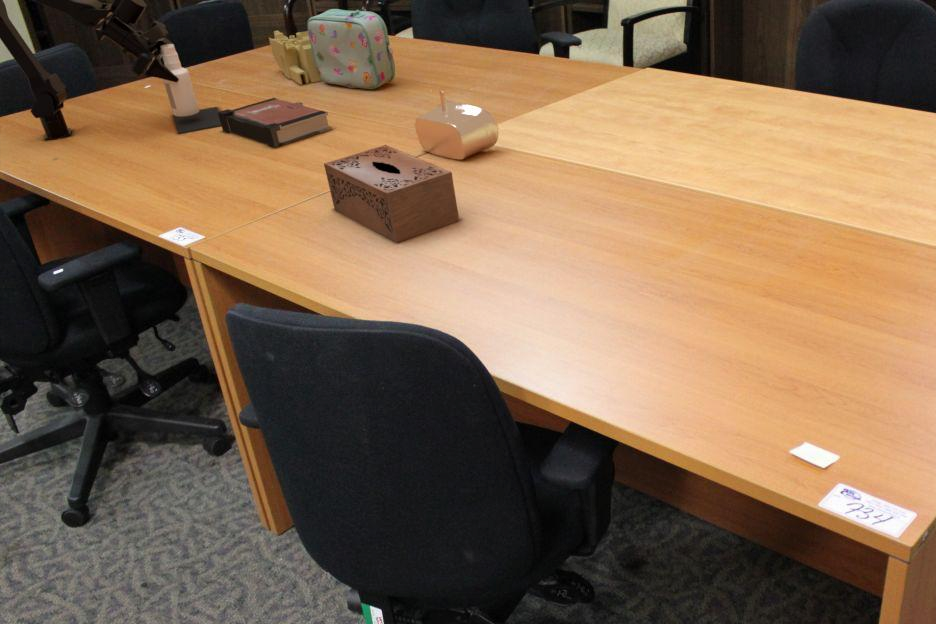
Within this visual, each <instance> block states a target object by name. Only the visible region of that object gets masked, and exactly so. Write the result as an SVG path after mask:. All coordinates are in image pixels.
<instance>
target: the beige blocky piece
mask: <svg viewBox="0 0 936 624" xmlns="http://www.w3.org/2000/svg"><path fill="white" fill-rule="evenodd" d="M295 35H296V36H295ZM295 35H294V34H291V35H289V37H287V36H286V35H284V33H283V32H280V30H274V31H273V36H274V38H272V37H268V41H269V45H270V48H271V49H270V50H271V52H272V56H273V58H274V60H275V62H276V65H277V66H278V68H279V69H280V70H281V71H282V73H283V74H284V76H285V77H286V78H287V79H289V80H293V81H294V82H296V83H297V84H298V85H300V86H301V85H303V83H305V84H309V82H310V83H317V82H322V81H323V80H322V79H321V78H320V76H319V74H318V71H317V68H316V65H315V61H314V57H313V53H312V48H311V44H310V39H309V33H308V30H305V31H301V32H300V31H299V32H296V33H295ZM323 82H324V81H323Z"/></svg>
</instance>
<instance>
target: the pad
mask: <svg viewBox="0 0 936 624" xmlns="http://www.w3.org/2000/svg"><path fill="white" fill-rule="evenodd" d="M218 112H220V111H219V108H218V106H214V107H213V106H212V107H207V108H202V109H199V112H198V113H196V114H194V115H191V116H184V117H179V116H175V115H174V114H172V116H173V120H174V123H175V126H176V130H177V133H178V135H181V134H185V133H192V132H197V131H202V130H208V129H213V128H218V127H222V126H221V123H220V119H219V116H218Z"/></svg>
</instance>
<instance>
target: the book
mask: <svg viewBox="0 0 936 624" xmlns="http://www.w3.org/2000/svg"><path fill="white" fill-rule="evenodd" d="M218 116H219V119H220V123H221V126H220V127H221V129H222V132H225V133H228V134H230V133H232V134H234V135H237V136H240V137H243V138H245V139H250V140H252V141H256V142H258V143H262V144H265V145H267V146H268V147H271V148H274V149H276V148H280V147H283V146H286V145H289V144H292V143H295V142H298V141H302V140H304V139H307V138H311V137H314V136H317V135H319V134H323V133H327V132H329V131H332V126H329V122H328V117H327V116H329V112H328V111H324V110H321V109H317V108H313V107H311V106H310V107H309V106H306V105H304V103H303V102H301V101H300V102H297V101H296V102H292V101H287V100H283V99H280V98H276V97H272V98H269V99H264V100H261V101H259V102H255V103H254V102H253V103H251V104H248V105H244V106H241V107H237V108H233V109H229V108H227V109H224V110H221V111H219V112H218Z"/></svg>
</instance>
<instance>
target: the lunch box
mask: <svg viewBox="0 0 936 624" xmlns="http://www.w3.org/2000/svg"><path fill="white" fill-rule="evenodd" d="M307 31H308V33H309V39H310V44H311V48H312V53H313V57H314V61H315V65H316V68H317V71H318V74H319V76H320V78H321V79H322V80H323V82H324V83H325V84H331V85H338V86H343V87H347V88H348V89H349V88H350V89H353V88H354V89H355V88H356V89H357V88H359V89H366V90H373V89H377V88H379V87H381V86H383V85H386V84H387V83H391V82H393V81H394V79H395V77H396V65H395V59H394V56H393V54H394V51H393V48H392V45H391V43H390V40H389V33H388V28H387V25H386V22H385V21H384V19H383V18H382V17H381V15H379V14H377V13H375V12H374V11H368V10H359V9H356V10H346V9H340V8H331V9H328V10H326V11H324V12H322V13H319V14H317V15H313V16H311V17H310V18H308V20H307Z"/></svg>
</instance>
